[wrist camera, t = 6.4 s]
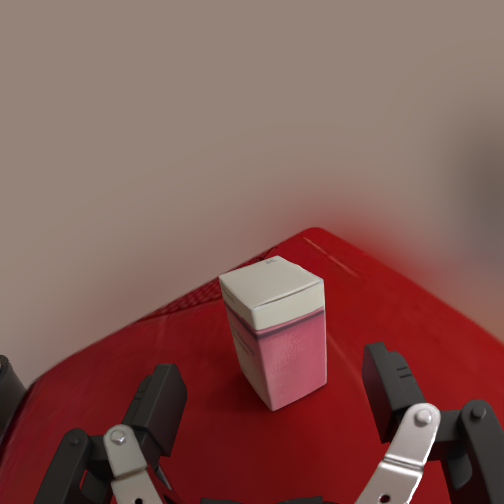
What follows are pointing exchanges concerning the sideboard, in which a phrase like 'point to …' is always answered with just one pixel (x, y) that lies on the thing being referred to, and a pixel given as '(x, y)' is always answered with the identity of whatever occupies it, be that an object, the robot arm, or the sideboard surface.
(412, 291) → the sideboard surface
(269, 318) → the small box
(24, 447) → the sideboard surface
